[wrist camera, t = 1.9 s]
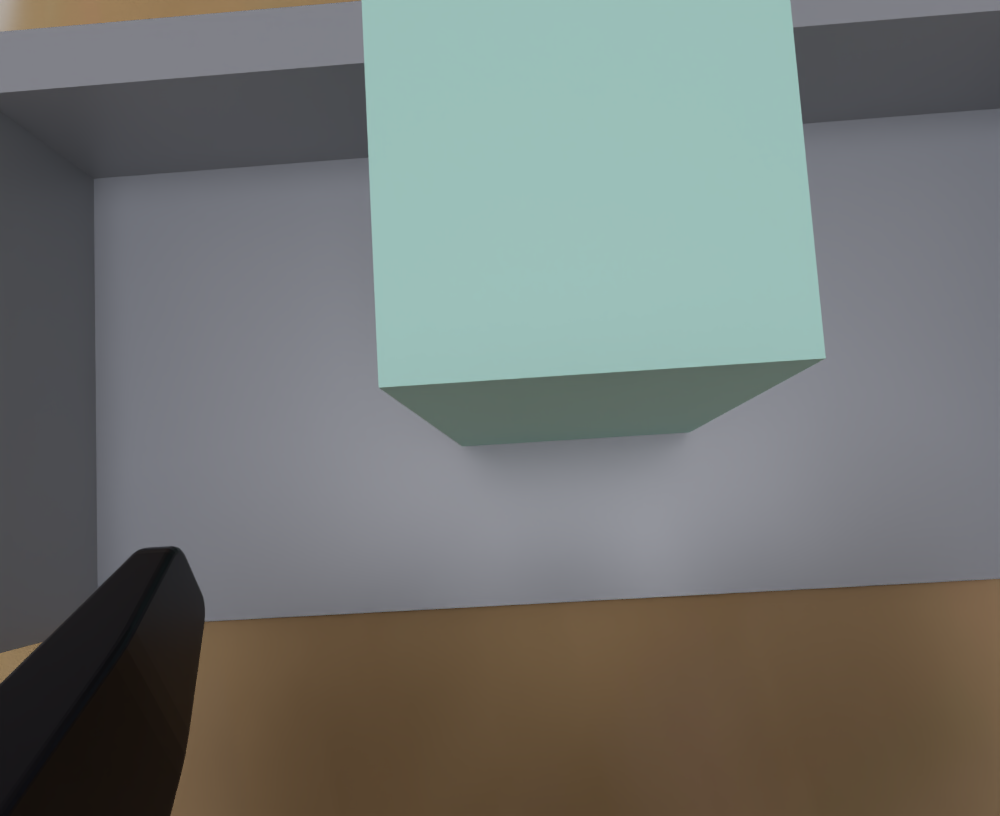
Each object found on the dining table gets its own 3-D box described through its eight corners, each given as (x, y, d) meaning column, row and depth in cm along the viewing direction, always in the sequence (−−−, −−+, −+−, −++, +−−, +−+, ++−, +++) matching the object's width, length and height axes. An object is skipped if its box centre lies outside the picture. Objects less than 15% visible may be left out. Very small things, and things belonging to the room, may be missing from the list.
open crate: (1140, 568, 20) (1338, 588, 15) (59, 626, 21) (-93, 663, 16) (1072, 62, 21) (1233, -75, 16) (57, 143, 22) (-85, 38, 17)
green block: (689, 432, 20) (826, 358, 10) (462, 446, 20) (379, 387, 10) (671, 211, 21) (784, -64, 11) (450, 227, 21) (360, -27, 11)
